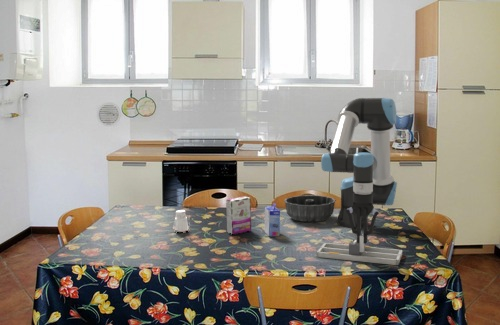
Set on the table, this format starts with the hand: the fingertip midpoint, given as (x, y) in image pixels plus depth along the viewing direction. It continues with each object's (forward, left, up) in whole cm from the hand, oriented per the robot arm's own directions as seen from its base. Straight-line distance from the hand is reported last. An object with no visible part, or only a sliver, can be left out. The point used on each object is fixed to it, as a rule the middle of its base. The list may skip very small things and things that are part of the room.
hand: (361, 250), depth 224 cm
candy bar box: (-25, -63, -5) cm, 67 cm away
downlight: (-18, -89, -5) cm, 91 cm away
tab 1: (0, -3, -3) cm, 4 cm away
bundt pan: (-61, -38, -5) cm, 71 cm away
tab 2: (-6, -2, -3) cm, 8 cm away
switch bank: (-3, -2, -4) cm, 6 cm away
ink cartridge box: (-27, -47, -5) cm, 54 cm away
